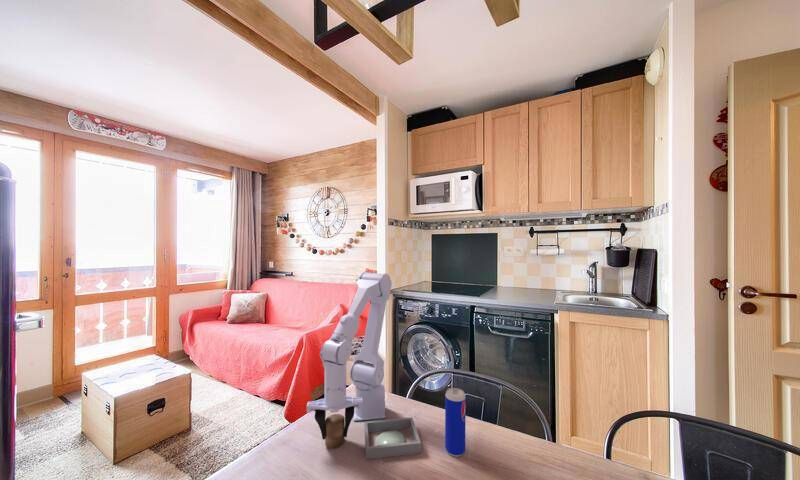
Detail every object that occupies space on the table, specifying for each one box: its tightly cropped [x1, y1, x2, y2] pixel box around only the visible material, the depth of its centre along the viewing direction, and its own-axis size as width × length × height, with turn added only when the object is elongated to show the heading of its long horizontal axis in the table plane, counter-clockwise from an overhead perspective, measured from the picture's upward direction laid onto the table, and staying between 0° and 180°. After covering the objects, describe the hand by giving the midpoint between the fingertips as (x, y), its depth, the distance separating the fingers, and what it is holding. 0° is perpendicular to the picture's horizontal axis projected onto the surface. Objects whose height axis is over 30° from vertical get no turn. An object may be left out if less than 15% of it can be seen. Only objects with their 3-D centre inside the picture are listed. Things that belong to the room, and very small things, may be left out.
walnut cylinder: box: [324, 413, 345, 449], centre depth 77 cm, size 5×5×6 cm
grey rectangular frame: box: [363, 416, 422, 460], centre depth 77 cm, size 14×11×2 cm
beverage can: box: [444, 387, 467, 458], centre depth 74 cm, size 5×5×15 cm
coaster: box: [376, 430, 406, 446], centre depth 77 cm, size 8×8×1 cm
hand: (334, 435), depth 77 cm, fingers closed on walnut cylinder, 5 cm apart
